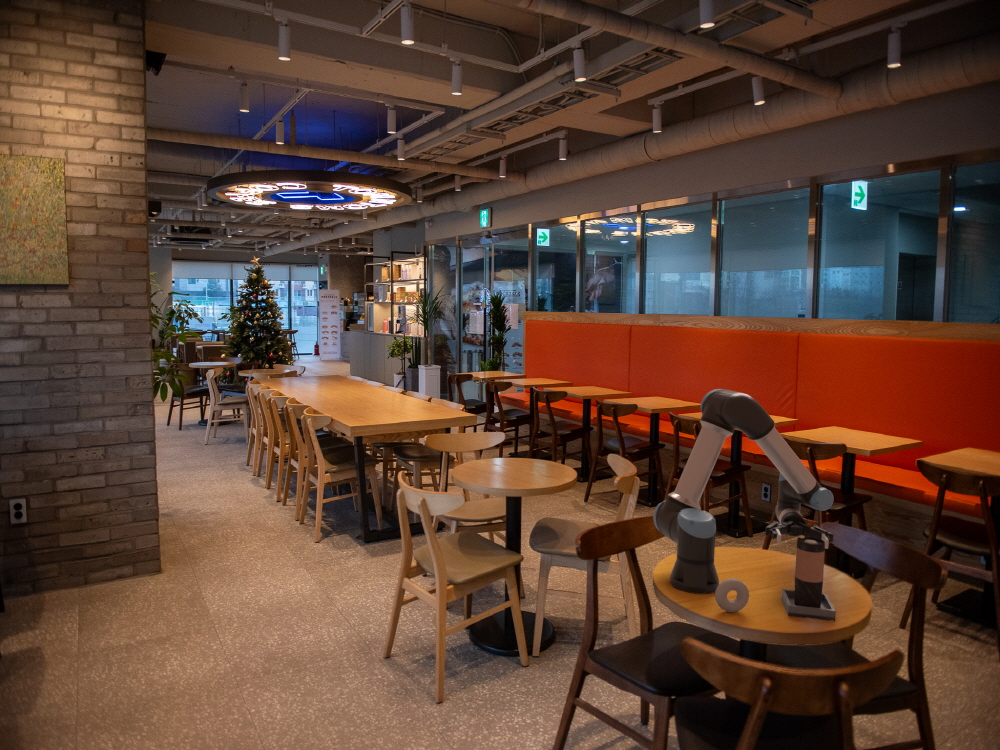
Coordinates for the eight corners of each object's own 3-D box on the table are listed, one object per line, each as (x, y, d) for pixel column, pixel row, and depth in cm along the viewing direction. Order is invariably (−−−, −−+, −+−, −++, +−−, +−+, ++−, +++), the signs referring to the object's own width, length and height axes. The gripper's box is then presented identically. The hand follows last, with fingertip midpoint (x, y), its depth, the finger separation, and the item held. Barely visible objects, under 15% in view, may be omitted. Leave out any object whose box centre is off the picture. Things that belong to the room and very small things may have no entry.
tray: (787, 615, 199) (788, 605, 199) (781, 598, 211) (781, 588, 211) (835, 621, 196) (835, 610, 195) (825, 603, 208) (826, 593, 208)
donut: (745, 609, 203) (747, 576, 202) (750, 614, 200) (752, 580, 199) (712, 609, 202) (713, 576, 201) (716, 614, 199) (718, 581, 198)
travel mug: (819, 613, 198) (823, 546, 196) (791, 607, 202) (795, 541, 200) (822, 604, 205) (826, 539, 203) (795, 598, 209) (798, 534, 207)
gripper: (831, 537, 230) (846, 558, 210) (752, 529, 236) (759, 549, 216) (833, 515, 229) (848, 534, 209) (754, 507, 236) (761, 525, 215)
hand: (803, 541), depth 212 cm, fingers open, 13 cm apart
